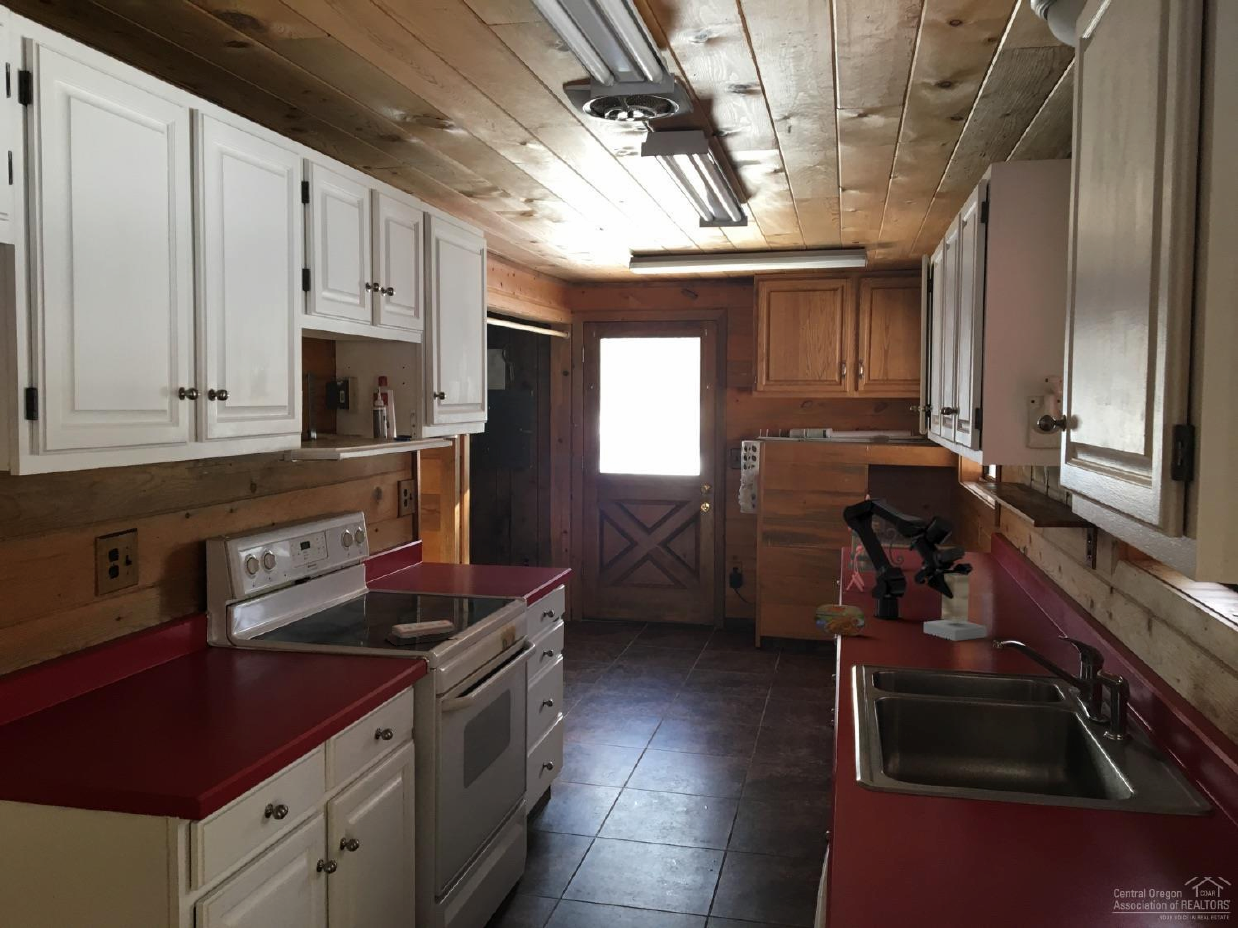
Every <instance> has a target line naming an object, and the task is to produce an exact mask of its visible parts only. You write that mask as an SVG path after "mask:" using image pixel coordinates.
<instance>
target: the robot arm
mask: <svg viewBox="0 0 1238 928" xmlns="http://www.w3.org/2000/svg"><path fill="white" fill-rule="evenodd" d="M873 516H877V517H879V518H881V519H882V520H884V521H886V522H887V523H889V524H890V525H892V526H894V528H895V530H896V531H897V534H899V535H900V536H902V537H903V538H904V539H915V541H911V542H910V545H909V548H908V549H909V552H917V553H918V555H919V557H920V558H921V560H922V561H921V565H922V567H921V568H919V570H918V571H917V572H916V573H915V574H914V576H913V580H914V582H915V584H916V586H922V585H925V586H926V587H928V588H930V589H933V590H935V591H936V592H938V593H940V594H941V595H942V594H943V595H945V596H946V597H948V598H950V599H952V598H953V594H952V592H951V590H950V589H949V587H948V585H947V583H946V582H945V579H944V574H949V573H958V574H963V575H968V576H969V574H970V573H972V571H973V570H974V567H973V566H972V564H971V563H969V562H961V563H959V562H958V563H957V564H956V565H955V562H956V561H959V560H963V558H964V557H965V555H966V553H965V550H964V549H963V548H962V546H961V545H956V546H955V547H951V548H948V549H945V550H941V549H940V548H939V547H938V545H942V544H943V543H944V542H945V540H946V539H947V538H948V537H949V536H950V535H951V534H952V532H954V526H953V524H952V522H949V521H948V520H947V519H946V518H944V517H942V516H941V515H940V514H938V515H937V514H936V515H934V516H932V518H931V520H930V522H928V523H927V521H926V520H925V519H923V518H921V517H917V516H913V515H909V514H905V513H903V512H901V511H899V510H898V509H897V508H896V507H895V508H894V507H893V506H892V505H890V504H887V503H886V502H884V501H883V500H882V499H880V498H878V497H873V498H871V497H870V498H869V499H866V498H865V499H864V500H863V501H861V502H858V503H856V504H851V505H847V506H846V507H845V508H844V509H843V513H842V518H843V521H844V522H845V523H846V525H847V527H848V526H849V527H850V528H851V531H853V530H854V531H855V532H856V533H857V534H858V535H859V537H860V539H861V541H862V543H863V545H864V547H865V549H866V551H867V553H868V555H869V557H870V559H871V561H872V563H873V565H874V567H875V569H876V573H875V583H876V585H874V587H873V588H872V589H871V591H870V592H871V597H872V598H873V599H876V613H875V614H872V616H873V617H874V618H878V619H882V620H886V621H889V620H897V619H902V618H903V616H901V615H900V614H899V611H900V609H899V608H900V607H899V606H900V605H899V598H900V599H903V598H904V595H905V593H906V592H905V591H906V588H907V585H908V583H907V580H906V579H907V576H905V573H904V572H903V570H902V568H901V567H900V566H893V564H892V563H891V562H890V559H889V558H888V556H887V553H886V552H885V549H884V548H883V546H882V543H881V544H880V542H879V540H878V538H877V536H876V534H875V532H874V530H873V528H872V521H873ZM954 565H955V566H954ZM953 566H954V567H953ZM952 567H953V568H952ZM926 579H927V583H926Z"/></svg>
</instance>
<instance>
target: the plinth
mask: <svg viewBox="0 0 1238 928" xmlns="http://www.w3.org/2000/svg"><path fill="white" fill-rule="evenodd" d="M987 632H988V631H987V626H986V625H981V624H977V623H975V622H974V623H973V622H970V621H961V622H952V621H948V620H945V619H940V620H932V621H924V622H923V633H924V634H928V635H931V634H932V635H931V636H935V635H936V636H935V637H938V636H939V638H942V639H946V638H947V639H946V640H949V639H950V640H949V641H953V642H957V641H965V640H967V641H968V640H973V639H974V640H975V639H980V638H986V637H987Z"/></svg>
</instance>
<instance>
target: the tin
mask: <svg viewBox="0 0 1238 928" xmlns="http://www.w3.org/2000/svg"><path fill="white" fill-rule="evenodd" d="M813 622H814V625H815V627H816V629H817V630H818V631H820V632H821V633H823V634H827V635H828V634H829V635H838V636H846V637H847V636H848V637H849V636H850V637H854V636H858V635H860V634H862V633H863V632H864V631H865V630H866V628H867V624H868V617H867V615H866V613H865V612H864V610H863V609H861V608H860V607H858V606H853V605H841V604H840V605H839V604H822V605H820V606H819V607H818V608H817V609H816V610H815V612H814V615H813Z"/></svg>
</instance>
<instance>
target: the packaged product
mask: <svg viewBox="0 0 1238 928" xmlns="http://www.w3.org/2000/svg"><path fill="white" fill-rule="evenodd" d="M454 630H456V628H455V625H454V624H453V622H451V621H449V620H447V619H446V620H445V619H444V620H436V621H423V622H413V623H404V624H396V625H393V626H391V634H393V635H395V636H398V637H400V638H411V637H418V636H422V635H428V634H439V633H446V632H450V631H454Z"/></svg>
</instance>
